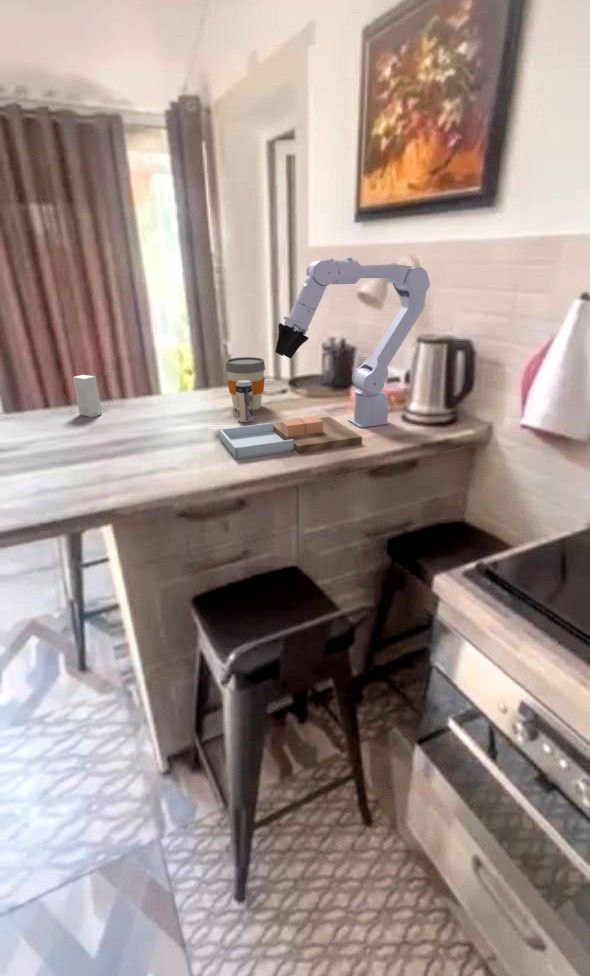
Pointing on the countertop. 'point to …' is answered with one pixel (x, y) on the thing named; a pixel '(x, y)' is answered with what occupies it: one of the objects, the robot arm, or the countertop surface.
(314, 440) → the board
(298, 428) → the tile
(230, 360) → the reusable coffee cup
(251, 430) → the tray
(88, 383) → the skincare box
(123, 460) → the countertop surface
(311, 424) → the tile
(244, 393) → the beer can
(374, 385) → the robot arm
